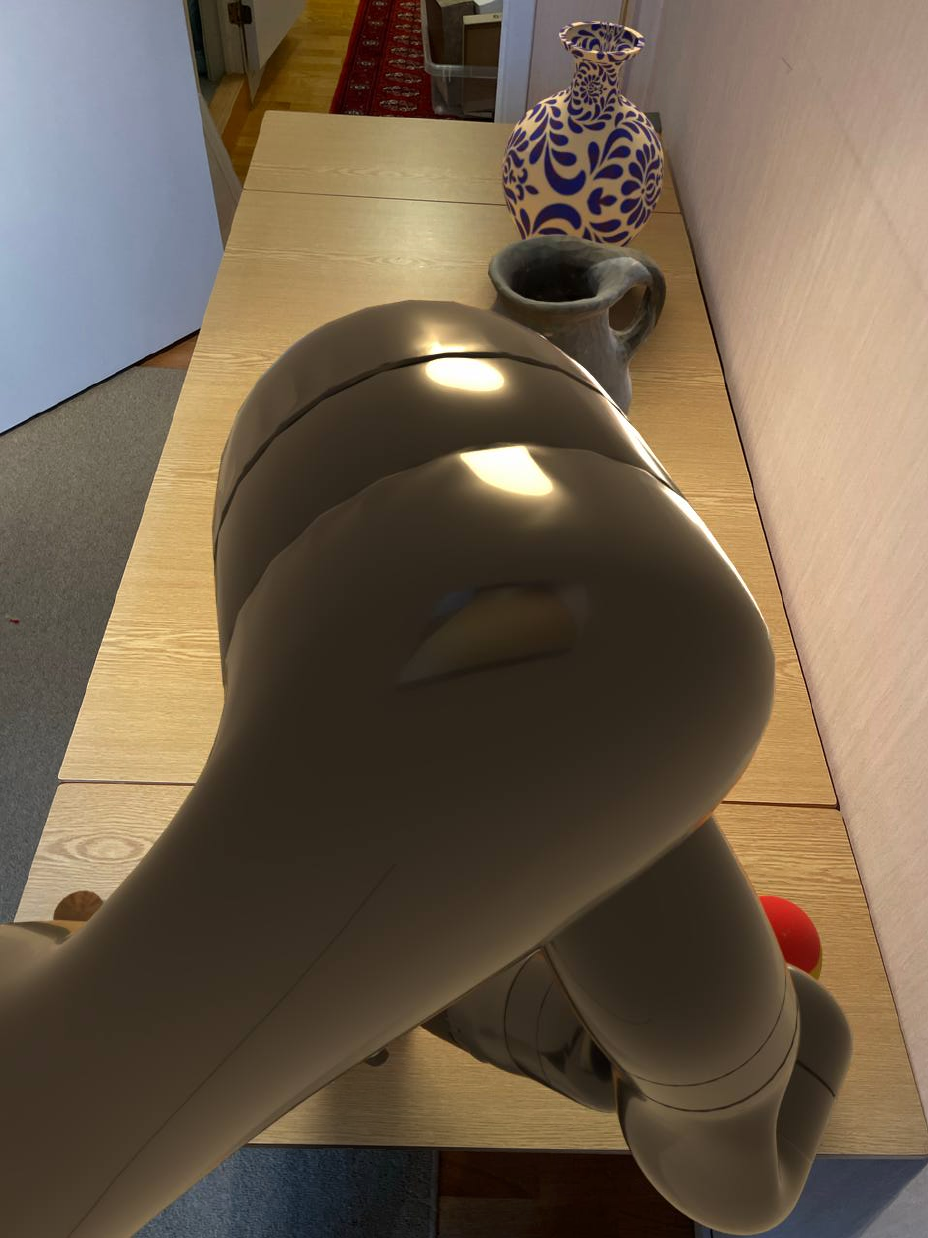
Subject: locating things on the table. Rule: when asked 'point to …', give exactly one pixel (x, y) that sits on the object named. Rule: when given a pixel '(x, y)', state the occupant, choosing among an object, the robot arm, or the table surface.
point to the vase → (586, 149)
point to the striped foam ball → (794, 934)
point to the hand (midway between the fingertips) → (367, 934)
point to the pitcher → (580, 301)
